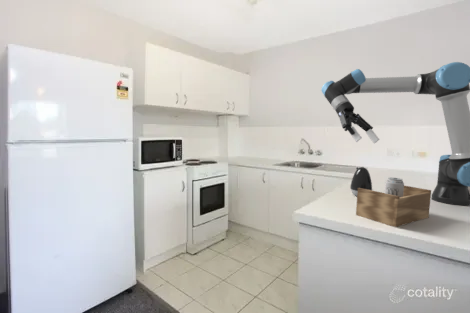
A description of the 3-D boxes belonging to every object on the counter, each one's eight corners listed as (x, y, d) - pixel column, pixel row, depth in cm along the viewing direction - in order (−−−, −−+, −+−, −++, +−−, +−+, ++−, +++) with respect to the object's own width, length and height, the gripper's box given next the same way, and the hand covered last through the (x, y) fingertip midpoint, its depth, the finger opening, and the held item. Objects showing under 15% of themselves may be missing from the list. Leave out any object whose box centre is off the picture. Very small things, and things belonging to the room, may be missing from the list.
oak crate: (355, 214, 101) (357, 188, 100) (389, 207, 113) (391, 183, 112) (395, 227, 88) (397, 196, 87) (428, 217, 100) (431, 190, 99)
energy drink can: (381, 216, 100) (384, 178, 99) (384, 212, 105) (387, 176, 103) (399, 219, 96) (403, 180, 95) (402, 216, 101) (405, 178, 100)
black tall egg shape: (364, 193, 139) (366, 166, 137) (375, 198, 128) (378, 168, 127) (346, 193, 138) (347, 165, 137) (356, 198, 128) (358, 168, 126)
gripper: (352, 115, 132) (376, 147, 121) (320, 109, 118) (344, 145, 108) (363, 104, 127) (390, 136, 116) (331, 97, 113) (357, 133, 102)
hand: (368, 140), depth 112 cm, fingers open, 13 cm apart
